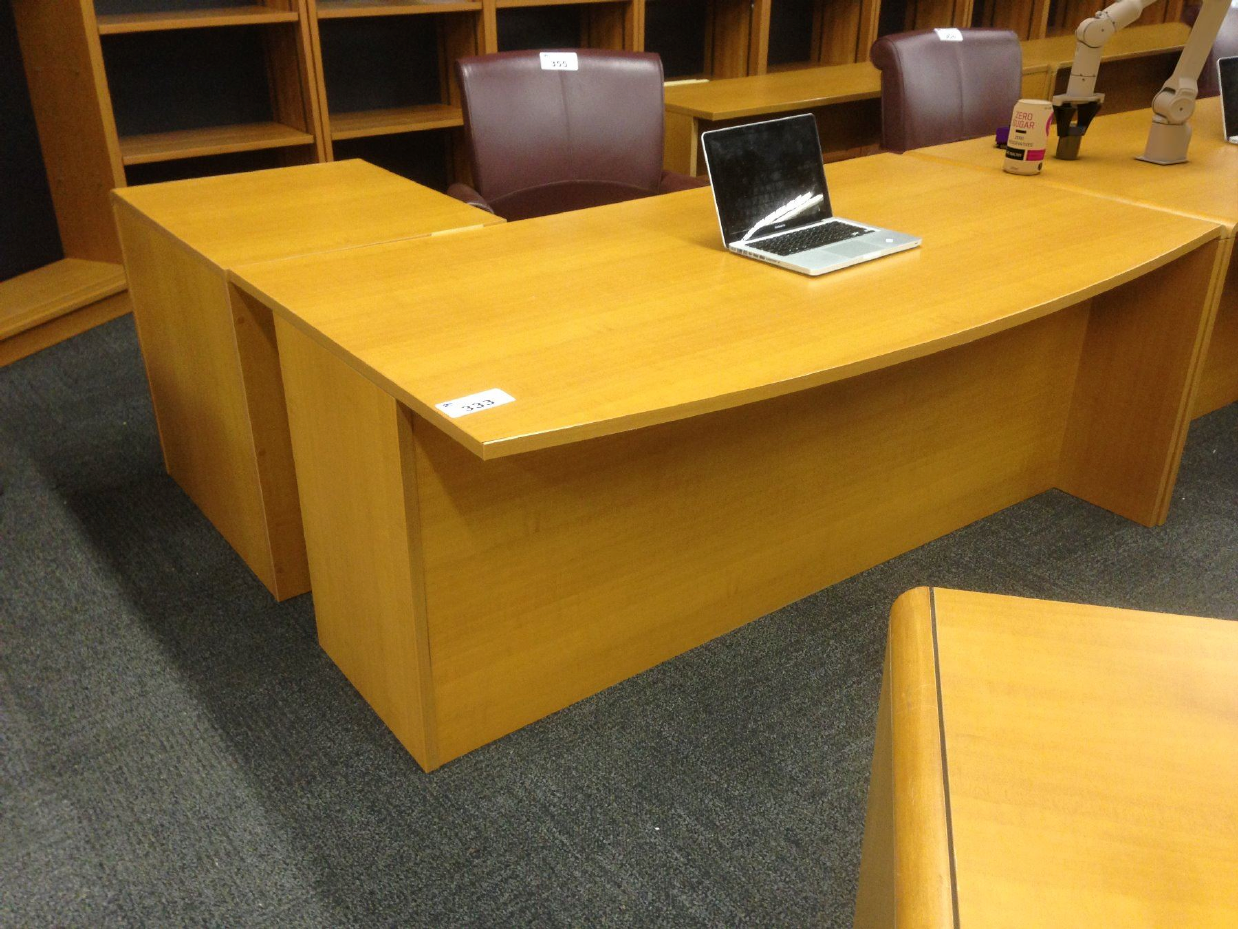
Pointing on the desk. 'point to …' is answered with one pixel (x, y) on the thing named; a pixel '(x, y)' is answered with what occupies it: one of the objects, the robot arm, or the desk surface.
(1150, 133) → the robot arm
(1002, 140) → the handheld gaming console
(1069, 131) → the lid
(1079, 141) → the jar
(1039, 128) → the supplement can
